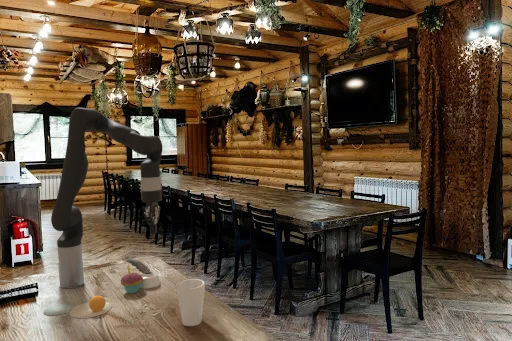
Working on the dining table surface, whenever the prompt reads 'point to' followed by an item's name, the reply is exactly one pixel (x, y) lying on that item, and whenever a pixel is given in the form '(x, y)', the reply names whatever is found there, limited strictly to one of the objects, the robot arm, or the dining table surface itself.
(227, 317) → the dining table surface
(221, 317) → the dining table surface
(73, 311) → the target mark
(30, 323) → the dining table surface
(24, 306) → the dining table surface
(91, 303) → the ball
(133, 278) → the cupcake
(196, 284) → the foam cup
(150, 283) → the inkwell
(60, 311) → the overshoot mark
